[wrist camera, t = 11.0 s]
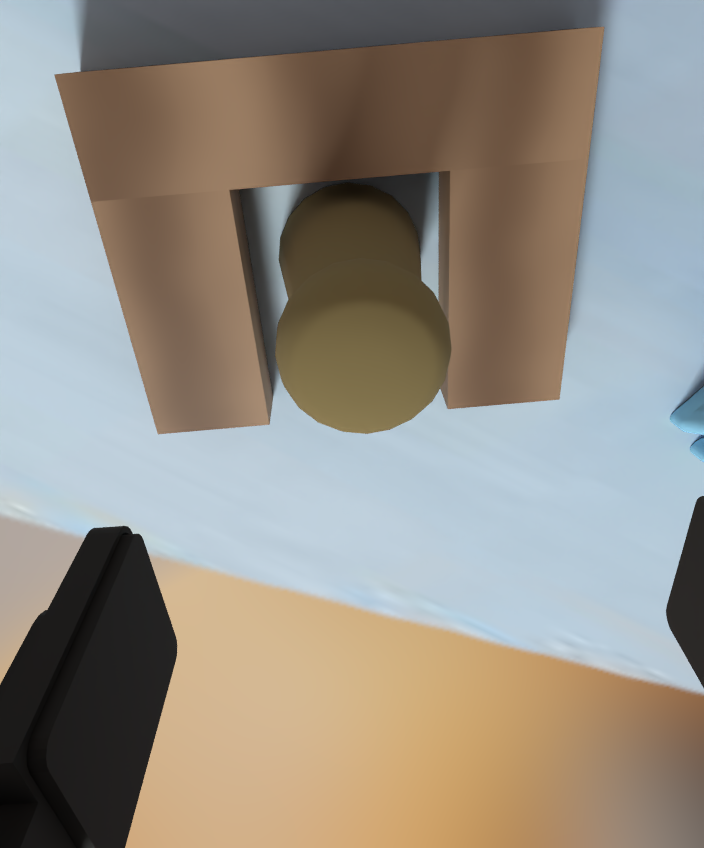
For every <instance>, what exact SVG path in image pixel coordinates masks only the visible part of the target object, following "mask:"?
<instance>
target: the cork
mask: <svg viewBox="0 0 704 848" xmlns="http://www.w3.org/2000/svg"><path fill="white" fill-rule="evenodd" d="M279 263H280V267H281V271H282V275H283V279H284V283H285V287H286V291H287V295H288V299H289V300H288V302H287V304H286V307H285V309H284V311H283V313H282V316H281V318H280V320H279V322H278V327H277V336H276V350H275V358H276V361H277V365H278V369H279V372H280V376H281V379H282V382H283V384H284V387H285V388H286V390H287V391H288V393H289V394H290V396H291V397H292V398H293V400H294V401H295V403H296V404H297V406H298V407H299V408H300V409H301V410H303V411H304V412H305V413H307V414H308V415H309V416H311V417H312V418H313V419H315V420H316V421H317V422H319V423H322V424H324V425H327V426H329V427H332V428H335V429H337V430H340V431H343V432H354V433H365V434H368V433H373V432H379V431H384V430H390V429H392V428H394V427H396V426H398V425H400V424H402V423H404V422H407V421H409V420H411V419H412V418H414V417H415V416H416V415H417V414H418V413H419V412H421V411H422V410H423V409H424V408H425V407H426V406H427V405H429V404H430V403H431V402H432V401H433V399H434V397H435V396H436V394H437V393H438V391H439V389H440V388H441V386H442V384H443V383H444V381H445V378H446V374H447V370H448V366H449V361H450V357H451V350H452V347H451V338H450V329H449V322H448V320H447V318H446V316H445V314H444V312H443V310H442V308H441V306H440V304H439V302H438V300H437V298H436V296H435V294H434V293H433V292H432V291H431V290H430V289H429V288H428V287H427V286H426V285H425V284H424V283H423V282H422V281H421V258H420V248H419V240H418V232H417V230H416V228H415V226H414V224H413V222H412V220H411V218H410V216H409V214H408V212H407V211H406V210H405V209H404V208H403V207H402V206H401V205H400V204H399V203H398V202H397V201H396V200H395V199H394V198H393V197H392V196H391V195H389V194H387V193H385V192H383V191H381V190H379V189H377V188H375V187H373V186H371V185H364V184H356V183H348V182H347V183H342V184H338V185H333V186H328V187H324V188H322V189H321V190H319V191H317V192H315V193H314V194H312V195H310V196H309V197H307V198H305V199H304V200H303V201H302V202H301V203H300V205H299V206H298V207H297V208H296V209H295V210H294V212H293V213H292V214H291V215H290V216H289V218H288V220H287V223H286V225H285V228H284V230H283V233H282V235H281V237H280V250H279Z"/></svg>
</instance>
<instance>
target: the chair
mask: <svg viewBox="0 0 704 848" xmlns="http://www.w3.org/2000/svg"><path fill="white" fill-rule="evenodd" d="M670 420H671V422H672V423H673V424H674V425H676V426H677V427H678V428H679V429H681V430H682V431H683V432H688V433H694V434H700V435H704V386H703V387H702V388H701V389H700V390H699V391H698V392H697V393H695V394H694V395H693V396H692V397H691V398H690V399H689V400H687V401H686V402H685V403H684V404H683V405H681V406H680V407H679V408H678V409H677V410H676V411H674V413H673V414H672V415H671V417H670ZM690 451H691V453H692V454H694V455H695V456H696V457H697V458H699V459H700V460H701V461H702V462H704V437H703V438H701V439H699V440H698V441H696V442H694V444H693V445H692V446H691V448H690Z"/></svg>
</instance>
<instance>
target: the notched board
mask: <svg viewBox="0 0 704 848" xmlns="http://www.w3.org/2000/svg"><path fill="white" fill-rule="evenodd" d="M603 35H604V27H592V28H577V29H566V30H554V31H543V32H531V33H520V34H508V35H497V36H485V37H474V38H462V39H451V40H439V41H428V42H416V43H405V44H394V45H382V46H371V47H359V48H348V49H336V50H325V51H313V52H302V53H290V54H279V55H267V56H256V57H244V58H233V59H222V60H210V61H199V62H187V63H176V64H164V65H153V66H141V67H130V68H118V69H107V70H95V71H84V72H74V73H65V74H56V75H55V78H56V82H57V85H58V89H59V92H60V96H61V99H62V103H63V106H64V110H65V113H66V117H67V120H68V124H69V127H70V131H71V134H72V137H73V141H74V144H75V148H76V151H77V155H78V158H79V162H80V165H81V169H82V172H83V176H84V179H85V183H86V186H87V190H88V193H89V197H90V200H91V203H92V207H93V210H94V214H95V217H96V221H97V224H98V228H99V231H100V235H101V238H102V242H103V245H104V249H105V252H106V256H107V259H108V262H109V266H110V269H111V273H112V276H113V280H114V283H115V287H116V290H117V294H118V297H119V301H120V304H121V308H122V311H123V315H124V318H125V322H126V325H127V328H128V332H129V335H130V339H131V342H132V346H133V349H134V353H135V356H136V360H137V363H138V367H139V370H140V374H141V377H142V381H143V384H144V387H145V391H146V394H147V398H148V401H149V405H150V408H151V412H152V415H153V419H154V422H155V426H156V429H157V433H158V434H166V433H177V432H189V431H200V430H212V429H223V428H235V427H246V426H258V425H269V424H270V416H271V409H272V401H273V394H272V388H271V382H270V376H269V369H268V363H267V357H266V351H265V345H264V339H263V333H262V327H261V320H260V314H259V308H258V302H257V296H256V290H255V284H254V278H253V271H252V265H251V259H250V253H249V247H248V241H247V235H246V229H245V222H244V216H243V210H242V204H241V198H240V192H239V189H245V188H257V187H268V186H280V185H291V184H303V183H314V182H326V181H337V180H349V179H360V178H372V177H383V176H395V175H406V174H418V173H429V172H439V304H440V306H441V308H442V310H443V312H444V314H445V316H446V318H447V320H448V322H449V329H450V338H451V347H452V350H451V357H450V361H449V366H448V370H447V374H446V378H445V381H444V383H443V384H442V386H441V391H442V394H443V397H444V400H445V403H446V405H447V408H448V409H454V408H466V407H477V406H489V405H501V404H512V403H524V402H535V401H547V400H558V399H559V398H560V390H561V381H562V373H563V365H564V357H565V348H566V340H567V332H568V324H569V315H570V307H571V299H572V291H573V282H574V274H575V266H576V258H577V249H578V241H579V233H580V225H581V216H582V208H583V200H584V191H585V183H586V175H587V167H588V158H589V150H590V142H591V134H592V125H593V117H594V109H595V101H596V92H597V84H598V76H599V68H600V59H601V51H602V43H603Z"/></svg>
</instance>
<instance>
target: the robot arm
mask: <svg viewBox="0 0 704 848" xmlns="http://www.w3.org/2000/svg"><path fill="white" fill-rule="evenodd" d="M666 615H667V621H668V624H669V627H670V629H671V631H672V633H673V635H674V636H675V638H676V640H677V642H678V643H679V645H680V647H681V649H682V650H683V652H684V654H685V656H686V657H687V659H688V661H689V663H690V665H691V666H692V668H693V670H694V672H695V673H696V675H697V677H698V679H699V680H700V682H701V684H702V686H703V687H704V496H701V497H699V498H698V499H697V502H696V504H695V508H694V511H693V515H692V518H691V522H690V525H689V529H688V533H687V536H686V540H685V543H684V547H683V550H682V554H681V558H680V561H679V565H678V568H677V572H676V575H675V579H674V582H673V586H672V590H671V593H670V597H669V600H668V604H667V609H666ZM176 656H177V640H176V636H175V633H174V630H173V627H172V624H171V621H170V618H169V615H168V612H167V609H166V606H165V603H164V600H163V597H162V594H161V592H160V588H159V585H158V582H157V579H156V576H155V574H154V570H153V567H152V564H151V562H150V559H149V556H148V553H147V550H146V547H145V544H144V541H143V538H142V536H141V535H140V534H133V533H132V531H131V529H130V528H129V527H127V526H118V527H103V528H93V529H91V530H90V531H89V533H88V534H87V536H86V537H85V539H84V541H83V543H82V545H81V547H80V549H79V551H78V553H77V555H76V557H75V559H74V561H73V562H72V564H71V566H70V568H69V570H68V572H67V574H66V576H65V578H64V579H63V581H62V583H61V585H60V587H59V589H58V591H57V593H56V595H55V597H54V599H53V600H52V603H51V604H50V606H49V608H48V610H45V611H44V612H43V613H41V614H40V615H39V616H38V617H37V619H36V620H35V622H34V623H33V625H32V626H31V628H30V630H29V632H28V634H27V636H26V638H25V640H24V641H23V644H22V645H21V647H20V649H19V651H18V653H17V654H16V656H15V658H14V660H13V662H12V664H11V666H10V667H9V669H8V671H7V673H6V675H5V677H4V679H3V681H2V682H1V685H0V848H125V846H126V842H127V838H128V834H129V831H130V827H131V823H132V820H133V815H134V812H135V809H136V805H137V801H138V798H139V793H140V790H141V786H142V783H143V779H144V775H145V772H146V768H147V764H148V761H149V757H150V753H151V750H152V746H153V742H154V739H155V734H156V731H157V728H158V724H159V720H160V716H161V713H162V709H163V705H164V702H165V698H166V694H167V691H168V687H169V683H170V679H171V676H172V672H173V668H174V665H175V661H176Z"/></svg>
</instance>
